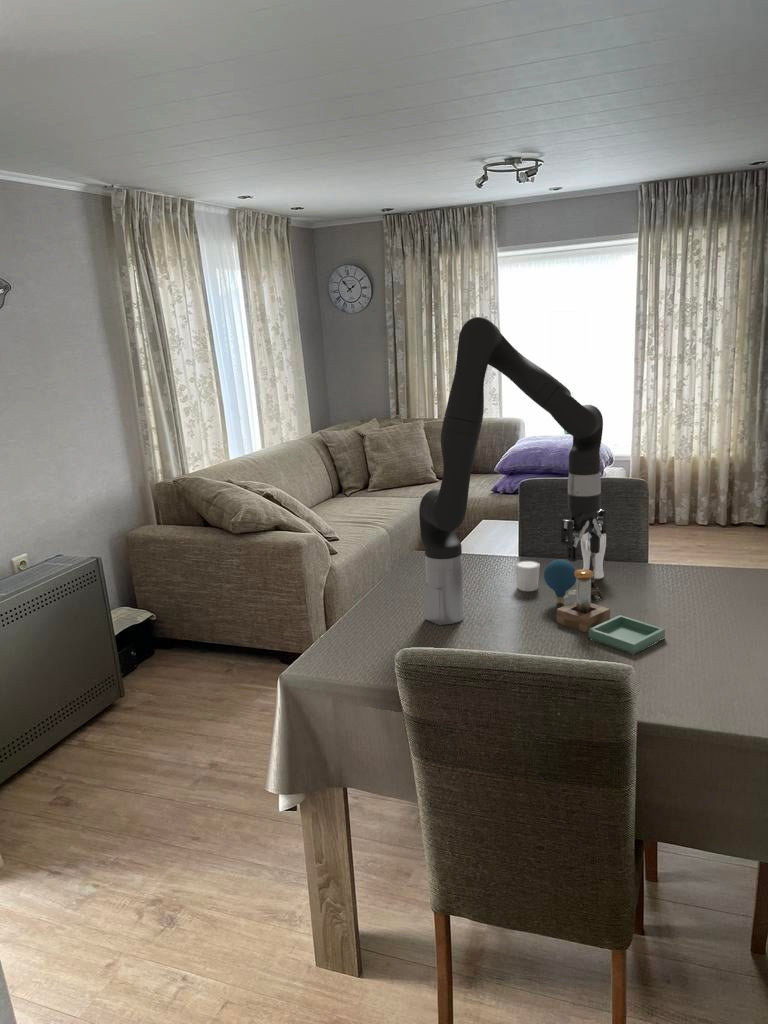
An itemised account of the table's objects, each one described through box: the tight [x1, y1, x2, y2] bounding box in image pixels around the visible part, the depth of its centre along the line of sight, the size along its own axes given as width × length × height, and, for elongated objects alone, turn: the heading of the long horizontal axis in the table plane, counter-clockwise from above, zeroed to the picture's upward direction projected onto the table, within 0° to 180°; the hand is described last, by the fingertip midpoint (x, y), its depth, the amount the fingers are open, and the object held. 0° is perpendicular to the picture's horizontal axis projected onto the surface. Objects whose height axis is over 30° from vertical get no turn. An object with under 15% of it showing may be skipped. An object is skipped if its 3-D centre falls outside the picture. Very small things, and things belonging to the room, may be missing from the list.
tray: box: [588, 614, 666, 655], centre depth 167 cm, size 12×12×2 cm
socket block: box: [556, 600, 611, 633], centre depth 178 cm, size 9×9×4 cm
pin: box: [574, 568, 593, 614], centre depth 177 cm, size 4×4×13 cm
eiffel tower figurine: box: [564, 555, 605, 603], centre depth 193 cm, size 15×10×13 cm
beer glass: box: [580, 524, 607, 581], centre depth 208 cm, size 7×7×15 cm
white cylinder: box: [514, 560, 541, 592], centre depth 203 cm, size 7×7×7 cm
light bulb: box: [543, 558, 577, 604], centre depth 190 cm, size 8×8×12 cm
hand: (583, 556), depth 174 cm, fingers open, 8 cm apart
